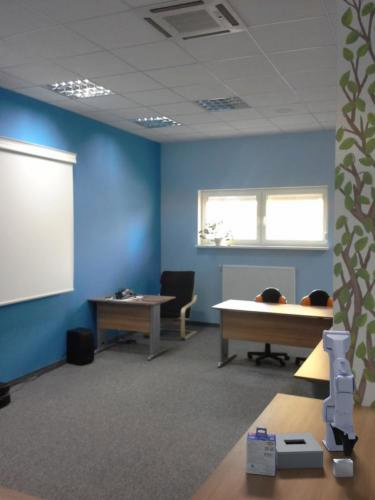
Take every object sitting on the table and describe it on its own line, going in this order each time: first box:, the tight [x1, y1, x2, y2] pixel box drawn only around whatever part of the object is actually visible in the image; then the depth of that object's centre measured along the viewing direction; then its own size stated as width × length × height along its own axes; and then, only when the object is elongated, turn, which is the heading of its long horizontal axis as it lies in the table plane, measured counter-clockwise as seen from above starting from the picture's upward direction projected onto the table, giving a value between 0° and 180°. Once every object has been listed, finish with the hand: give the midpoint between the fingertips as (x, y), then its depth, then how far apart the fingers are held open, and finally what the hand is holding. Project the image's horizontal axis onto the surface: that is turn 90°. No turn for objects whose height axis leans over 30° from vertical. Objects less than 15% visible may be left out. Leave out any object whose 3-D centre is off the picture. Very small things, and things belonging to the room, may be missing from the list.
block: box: [332, 458, 354, 478], centre depth 158 cm, size 6×2×5 cm, turn 93°
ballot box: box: [272, 432, 324, 470], centre depth 169 cm, size 16×14×6 cm
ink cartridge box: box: [246, 427, 277, 477], centre depth 160 cm, size 10×6×14 cm, turn 78°
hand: (343, 450), depth 158 cm, fingers open, 7 cm apart
